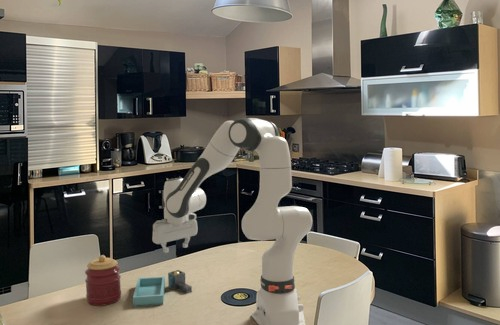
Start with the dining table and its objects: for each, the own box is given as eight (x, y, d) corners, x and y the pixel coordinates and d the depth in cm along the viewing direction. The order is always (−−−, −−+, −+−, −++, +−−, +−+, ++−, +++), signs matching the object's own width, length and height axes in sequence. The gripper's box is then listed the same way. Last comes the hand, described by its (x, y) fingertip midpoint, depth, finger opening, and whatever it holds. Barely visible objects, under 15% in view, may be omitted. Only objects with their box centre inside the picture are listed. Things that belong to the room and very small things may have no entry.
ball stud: (180, 287, 188) (180, 272, 187) (173, 288, 188) (172, 272, 187) (180, 285, 191) (180, 270, 190) (173, 285, 190) (173, 270, 190)
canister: (119, 290, 186) (118, 248, 184) (123, 303, 174) (121, 258, 172) (85, 295, 181) (83, 252, 179) (87, 308, 169) (84, 262, 167)
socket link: (168, 286, 189) (168, 272, 189) (178, 283, 193) (178, 269, 192) (183, 294, 181) (183, 279, 181) (194, 290, 185) (193, 276, 184)
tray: (163, 304, 172) (162, 295, 171) (133, 306, 170) (132, 297, 170) (165, 284, 191) (164, 276, 191) (138, 286, 190) (138, 278, 189)
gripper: (157, 222, 177) (158, 257, 178) (199, 214, 190) (200, 246, 192) (148, 220, 181) (149, 253, 183) (190, 211, 195) (191, 243, 197)
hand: (175, 249), depth 188 cm, fingers open, 8 cm apart
